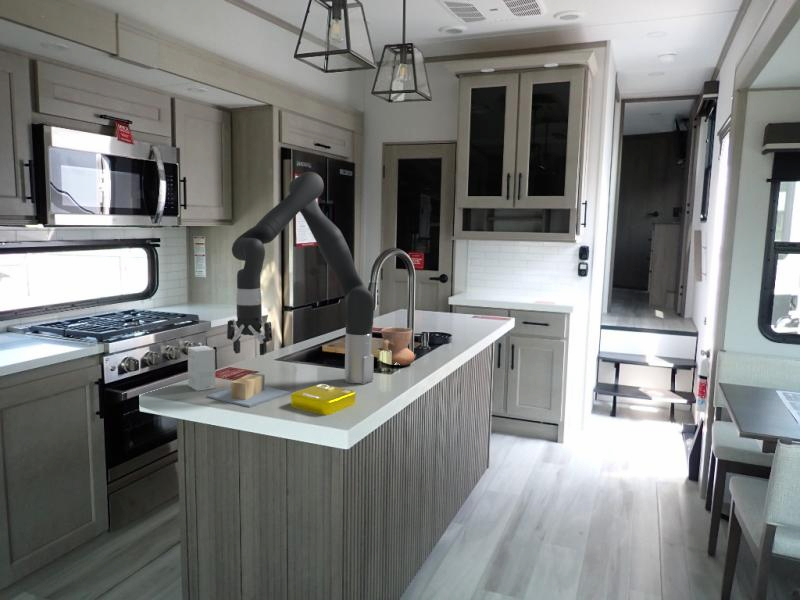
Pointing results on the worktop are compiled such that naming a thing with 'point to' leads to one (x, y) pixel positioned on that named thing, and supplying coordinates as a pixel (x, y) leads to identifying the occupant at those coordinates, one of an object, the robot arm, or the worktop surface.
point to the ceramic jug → (398, 344)
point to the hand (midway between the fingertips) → (249, 353)
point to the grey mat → (252, 401)
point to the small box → (201, 368)
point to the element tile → (323, 399)
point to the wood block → (247, 386)
